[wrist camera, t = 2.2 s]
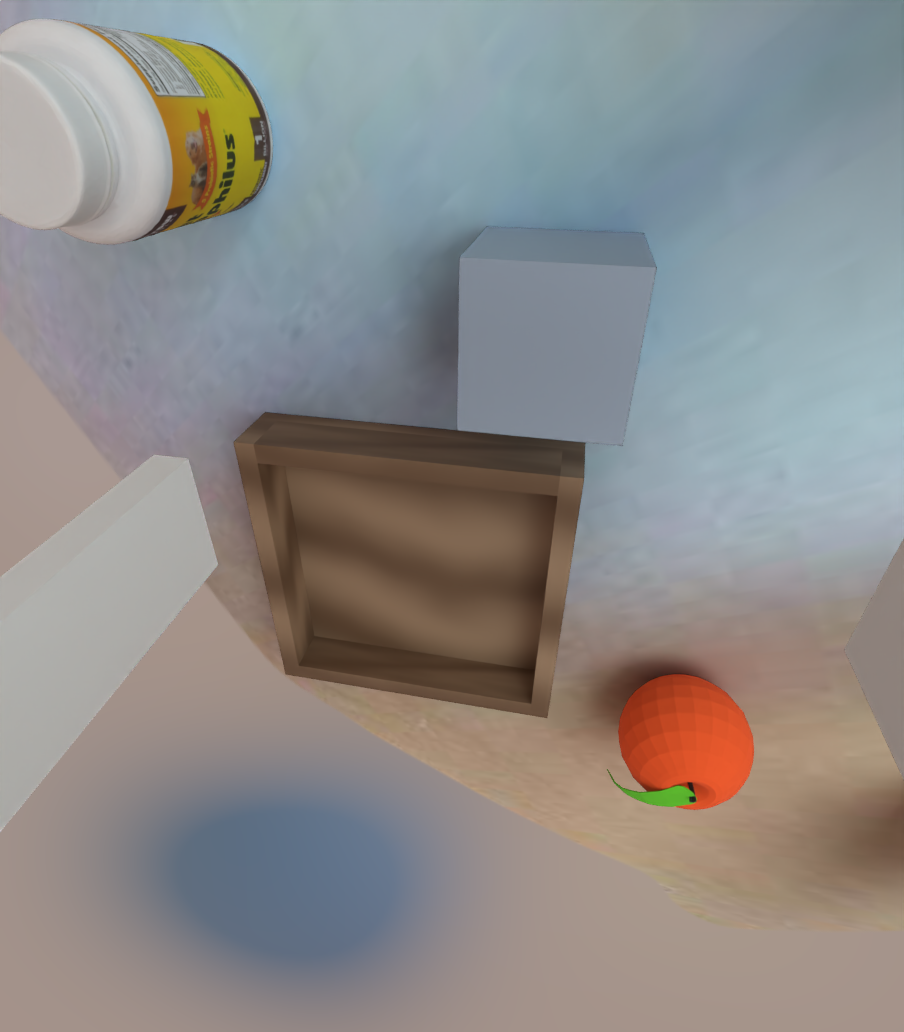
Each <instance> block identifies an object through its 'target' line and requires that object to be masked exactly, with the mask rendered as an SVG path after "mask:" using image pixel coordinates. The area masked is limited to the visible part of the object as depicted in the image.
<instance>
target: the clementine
mask: <svg viewBox="0 0 904 1032" xmlns="http://www.w3.org/2000/svg"><path fill="white" fill-rule="evenodd" d="M618 733H619V743H620V748H621V753H622V757H623V759H624V761H625V763H626V764H627V766H628V768H629V770H630V772H631V774H632V776H633V778H634V779H635V780H636V781H637V782H638V783H639V784H640V785H641V786H642V787H643V788H644V789H645V790H646V791H647V792H637V791H632V790H628V789H625V788H622V787H621V786H620V785H618V784H617V783H616V782H615V781H614V779H613V777H612V776H611V774H610V772H609V771H608V772H609V774H610V776H611V778H612V780H613V782H614V783H615V784H616V785H617V786H618V787H619V788H620V789H621V790H622V791H623V792H624V793H626V794H627V795H629V796H631V797H633V798H635V799H637V800H639V801H642V802H645V803H647V804H652V805H657V806H668V807H674V806H675V807H679V808H683V809H693V810H697V809H706V808H710V807H713V806H716V805H718V804H720V803H722V802H725V801H727V800H729V799H730V798H731V797H733V796H734V795H735V794H736V793H737V792H738V791H739V790H740V788H741V787H742V786H743V785H744V783H745V781H746V780H747V778H748V776H749V774H750V771H751V767H752V763H753V756H754V745H753V736H752V733H751V730H750V727H749V725H748V722H747V720H746V718H745V715H744V713H743V711H742V710H741V709H740V708H739V707H738V706H737V704H736V703H735V702H734V701H733V700H732V699H731V697H730V696H729V695H728V694H727V693H726V692H725V691H723V690H722V689H720V688H719V687H717V686H716V685H714V684H712V683H710V682H708V681H706V680H704V679H701V678H699V677H696V676H690V675H685V674H672V675H666V676H660V677H658V678H655V679H652V680H650V681H649V682H647V683H646V684H644V685H643V686H641V687H640V688H639V689H637V690H636V691H635V692H634V693H633V694H632V696H631V697H630V698H629V699H628V701H627V703H626V705H625V707H624V709H623V712H622V715H621V717H620V723H619V731H618ZM607 770H608V769H607Z"/></svg>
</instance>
